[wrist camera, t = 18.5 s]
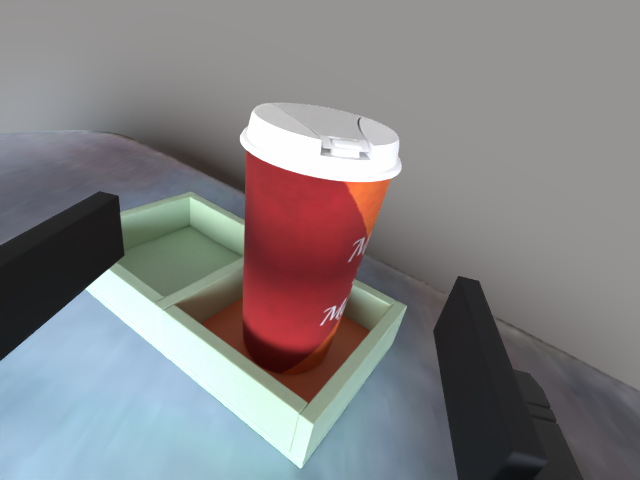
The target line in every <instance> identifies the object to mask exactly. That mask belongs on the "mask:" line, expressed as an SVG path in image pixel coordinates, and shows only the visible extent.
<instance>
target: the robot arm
mask: <svg viewBox="0 0 640 480" xmlns="http://www.w3.org/2000/svg"><path fill="white" fill-rule="evenodd" d="M124 256H125V255H124V245H123V235H122V226H121V216H120V206H119V196H117V195H113V194H109V193H104V192H100V191H99V192H97V193H96V194H94V195H92V196H90V197H88V198H86V199H85V200H83V201H81V202H79V203H77V204H75V205H74V206H72V207H70V208H68V209H66V210H64V211H63V212H61V213H59V214H57V215H55V216H53V217H52V218H50V219H48V220H46V221H44V222H42V223H41V224H39V225H37V226H35V227H33V228H32V229H30V230H28V231H26V232H24V233H22V234H21V235H19V236H17V237H15V238H13V239H11V240H10V241H8V242H6V243H4V244H2V245H0V361H1V360H2V359H3V358H4V357H6V356H7V355H8V354H9V353H10V352H11V351H13V350H14V349H15V348H16V347H17V346H18V345H20V344H21V343H22V342H23V341H24V340H26V339H27V338H28V337H29V336H30V335H31V334H33V333H34V332H35V331H36V330H37V329H39V328H40V327H41V326H42V325H43V324H44V323H46V322H47V321H48V320H49V319H50V318H52V317H53V316H54V315H55V314H56V313H57V312H59V311H60V310H61V309H62V308H63V307H65V306H66V305H67V304H68V303H69V302H70V301H72V300H73V299H74V298H75V297H76V296H77V295H79V294H80V293H81V292H82V291H83V290H85V289H86V288H87V287H88V286H89V285H90V284H92V283H93V282H94V281H95V280H96V279H98V278H99V277H100V276H101V275H102V274H103V273H105V272H106V271H107V270H108V269H109V268H111V267H112V266H113V265H114V264H115V263H116V262H118V261H119V260H120V259H121V258H122V257H124ZM433 332H434V338H435V344H436V350H437V356H438V362H439V368H440V374H441V380H442V386H443V392H444V398H445V404H446V410H447V416H448V422H449V428H450V433H451V439H452V445H453V451H454V457H455V463H456V469H457V475H458V480H583V478H582V476H581V474H580V472H579V469H578V467H577V465H576V463H575V460H574V458H573V456H572V454H571V452H570V449H569V447H568V445H567V443H566V440H565V438H564V436H563V434H562V431H561V429H560V427H559V425H558V424H556V421H557V420H556V418H555V416H554V414H553V411H552V410H550V405H549V402H548V400H547V398H546V396H545V394H544V391H543V389H542V388H541V387H540V386H539V385H538V383H537V382H536V381H535V380H534V379H533V377H532V376H531V375H530V374H529V373H525V372H521V371H517V370H513V368H512V365H511V363H510V360H509V358H508V355H507V352H506V350H505V347H504V345H503V342H502V339H501V337H500V334H499V332H498V329H497V326H496V324H495V321H494V319H493V316H492V314H491V311H490V308H489V306H488V303H487V301H486V298H485V295H484V293H483V290H482V288H481V285H480V282H479V281H477V280H473V279H468V278H464V277H460V276H458V278H457V280H456V282H455V284H454V286H453V289H452V291H451V293H450V295H449V297H448V300H447V302H446V304H445V306H444V308H443V311H442V313H441V315H440V317H439V319H438V321H437V324H436V326H435V328H434V330H433Z"/></svg>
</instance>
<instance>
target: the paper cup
mask: <svg viewBox="0 0 640 480" xmlns="http://www.w3.org/2000/svg"><path fill="white" fill-rule="evenodd" d="M240 142H241V144H242V146H243V147H244V148H245V149H246V188H245V190H246V191H245V229H244V271H243V341H244V346H245V349H246V351H247V353H248V355H249V356H250V357H251V359H252V360H253V361H254V362H256V363H257V364H258V365H260V366H261V367H263V368H265V369H267V370H269V371H272V372H275V373H280V374H300V373H304V372H307V371H309V370H312V369H313V368H315V367H317V366H318V365H319V364H320V363H321V362H322V361H323V360H324V358H325V356H326V355H327V353H328V350H329V348H330V346H331V343H332V341H333V338H334V335H335V333H336V330H337V327H338V325H339V322H340V319H341V317H342V314H343V311H344V308H345V306H346V303H347V300H348V297H349V294H350V292H351V289H352V286H353V283H354V281H355V278H356V275H357V272H358V269H359V267H360V264H361V261H362V258H363V255H364V253H365V250H366V247H367V244H368V241H369V239H370V236H371V233H372V230H373V227H374V225H375V222H376V219H377V216H378V213H379V211H380V208H381V205H382V202H383V199H384V197H385V194H386V191H387V188H388V185H389V182H390V180H391V178H392V177H395V176H396V175H398V174H399V173H400V171H401V168H402V166H401V160H400V159H399V157H398V150H399V138H398V135H397V134H396V133H395V132H394V131H393V130H392V129H390V128H389V127H387V126H385V125H383V124H381V123H379V122H376V121H374V120H371V119H369V118H366V117H362V116H359V115H356V114H352V113H348V112H344V111H341V110H336V109H332V108H327V107H321V106H315V105H308V104H299V103H298V104H297V103H267V104H261V105H258V106H257V107H255V109H254V110H253V112H252V114H251V117H250V121H249V126H248V127H246V128H245V129H244V130H243V132H242V134H241V135H240Z"/></svg>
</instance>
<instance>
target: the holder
mask: <svg viewBox="0 0 640 480" xmlns="http://www.w3.org/2000/svg"><path fill="white" fill-rule="evenodd" d="M120 216H121V226H122V235H123V245H124V255H125V256H124V257H122V258H121V259H120V260H119V261H118V262H116V263H115V264H114V265H113V266H112V267H111V268H109V269H108V270H107V271H106V272H105V273H103V274H102V275H101V276H100V277H99V278H98V279H96V280H95V281H94V282H93V283H92V284H90V285H89V286H88V287H87V288H86V290H87V291H88V292H89V293H90V294H92V295H93V296H94V297H95V298H96V299H98V300H99V301H100V302H101V303H102V304H104V305H105V306H106V307H107V308H108V309H109V310H111V311H112V312H113V313H114V314H115V315H117V316H118V317H119V318H120V319H121V320H123V321H124V322H125V323H126V324H127V325H129V326H130V327H131V328H132V329H133V330H135V331H136V332H137V333H138V334H139V335H141V336H142V337H143V338H144V339H145V340H147V341H148V342H149V343H150V344H151V345H153V346H154V347H155V348H156V349H157V350H159V351H160V352H161V353H162V354H163V355H165V356H166V357H167V358H168V359H169V360H171V361H172V362H173V363H174V364H175V365H177V366H178V367H179V368H180V369H181V370H183V371H184V372H185V373H186V374H187V375H189V376H190V377H191V378H192V379H193V380H195V381H196V382H197V383H198V384H199V385H201V386H202V387H203V388H204V389H205V390H207V391H208V392H209V393H210V394H211V395H213V396H214V397H215V398H216V399H217V400H219V401H220V402H221V403H222V404H223V405H225V406H226V407H227V408H228V409H229V410H231V411H232V412H233V413H234V414H235V415H237V416H238V417H239V418H240V419H241V420H243V421H244V422H245V423H246V424H247V425H249V426H250V427H251V428H252V429H253V430H254V431H256V432H257V433H258V434H259V435H260V436H262V437H263V438H264V439H265V440H266V441H268V442H269V443H270V444H271V445H272V446H274V447H275V448H276V449H277V450H278V451H280V452H281V453H282V454H283V455H284V456H286V457H287V458H288V459H289V460H290V461H292V462H293V463H294V464H295V465H296V466H298V467H299V468H300V469H301V468H302V467H303V466H304V465H305V463H306V462H307V460H308V459H309V458H310V456H311V455H312V454H313V452H314V451H315V450H316V448H317V447H318V445H319V444H320V443H321V441H322V440H323V439H324V437H325V436H326V434H327V433H328V432H329V430H330V429H331V428H332V426H333V425H334V423H335V422H336V421H337V419H338V418H339V417H340V415H341V414H342V413H343V411H344V410H345V408H346V407H347V406H348V404H349V403H350V402H351V400H352V399H353V397H354V396H355V395H356V393H357V392H358V391H359V389H360V388H361V386H362V385H363V384H364V382H365V381H366V380H367V378H368V377H369V376H370V374H371V373H372V371H373V370H374V369H375V367H376V366H377V365H378V363H379V362H380V360H381V359H382V358H383V356H384V355H385V354H386V352H387V351H388V349H389V348H390V347H391V345H392V344H393V341H394V338H395V336H396V334H397V331H398V329H399V326H400V323H401V321H402V318H403V316H404V313H405V311H406V308H407V306H406V305H404V304H402V303H400V302H398V301H396V300H394V299H392V298H390V297H388V296H387V295H385V294H383V293H381V292H379V291H377V290H375V289H373V288H372V287H370V286H368V285H366V284H364V283H362V282H360V281H358V280H356V279H355V281H354V283H353V286H352V289H351V292H350V294H349V297H348V300H347V303H346V306H345V308H344V311H343V314H342V317H341V319H340V322H339V325H338V327H337V330H336V333H335V335H334V338H333V341H332V343H331V346H330V348H329V350H328V353H327V355H326V356H325V358H324V360H323V361H322V362H321V363H320V364H319V365H318V366H317V367H315V368H313V369H312V370H309V371H307V372H304V373H300V374H280V373H275V372H272V371H269V370H267V369H265V368H263V367H261V366H260V365H258V364H257V363H256V362H254V361H253V360H252V359H251V357H250V356H249V355H248V353H247V351H246V349H245V346H244V341H243V271H244V229H245V220H244V219H242V218H240V217H238V216H236V215H234V214H232V213H230V212H228V211H227V210H225V209H223V208H221V207H219V206H217V205H215V204H213V203H212V202H210V201H208V200H206V199H204V198H202V197H200V196H198V195H196V194H195V193H193V192H188V193H184V194H181V195H177V196H174V197H170V198H167V199H163V200H160V201H156V202H153V203H149V204H146V205H142V206H139V207H135V208H132V209H128V210H125V211H121V212H120Z"/></svg>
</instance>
